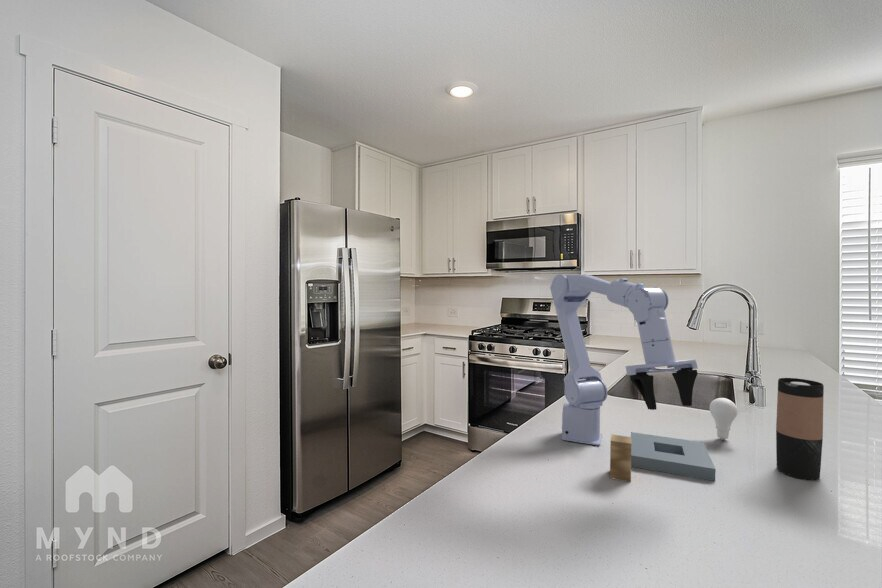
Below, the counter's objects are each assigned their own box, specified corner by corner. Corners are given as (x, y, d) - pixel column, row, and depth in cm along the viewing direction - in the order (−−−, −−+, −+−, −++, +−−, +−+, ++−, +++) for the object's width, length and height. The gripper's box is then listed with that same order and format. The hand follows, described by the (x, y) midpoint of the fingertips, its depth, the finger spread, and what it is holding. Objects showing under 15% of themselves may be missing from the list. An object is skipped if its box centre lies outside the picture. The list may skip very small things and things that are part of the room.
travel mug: (810, 468, 92) (812, 379, 92) (829, 483, 85) (832, 387, 85) (769, 463, 95) (771, 376, 94) (784, 478, 88) (786, 384, 87)
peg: (609, 478, 87) (610, 440, 87) (610, 470, 91) (611, 434, 91) (630, 481, 86) (631, 443, 85) (630, 473, 89) (631, 437, 89)
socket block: (630, 466, 93) (631, 455, 93) (630, 441, 107) (631, 432, 107) (715, 480, 86) (715, 469, 86) (703, 452, 101) (703, 442, 101)
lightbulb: (741, 445, 106) (742, 402, 105) (714, 443, 107) (715, 400, 107) (730, 436, 112) (731, 395, 111) (704, 434, 113) (705, 394, 113)
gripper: (633, 342, 84) (646, 411, 81) (700, 336, 85) (716, 404, 82) (616, 346, 91) (628, 410, 88) (679, 340, 92) (693, 403, 89)
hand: (669, 407), depth 86 cm, fingers open, 7 cm apart
